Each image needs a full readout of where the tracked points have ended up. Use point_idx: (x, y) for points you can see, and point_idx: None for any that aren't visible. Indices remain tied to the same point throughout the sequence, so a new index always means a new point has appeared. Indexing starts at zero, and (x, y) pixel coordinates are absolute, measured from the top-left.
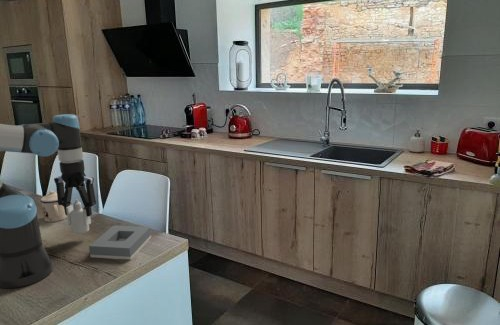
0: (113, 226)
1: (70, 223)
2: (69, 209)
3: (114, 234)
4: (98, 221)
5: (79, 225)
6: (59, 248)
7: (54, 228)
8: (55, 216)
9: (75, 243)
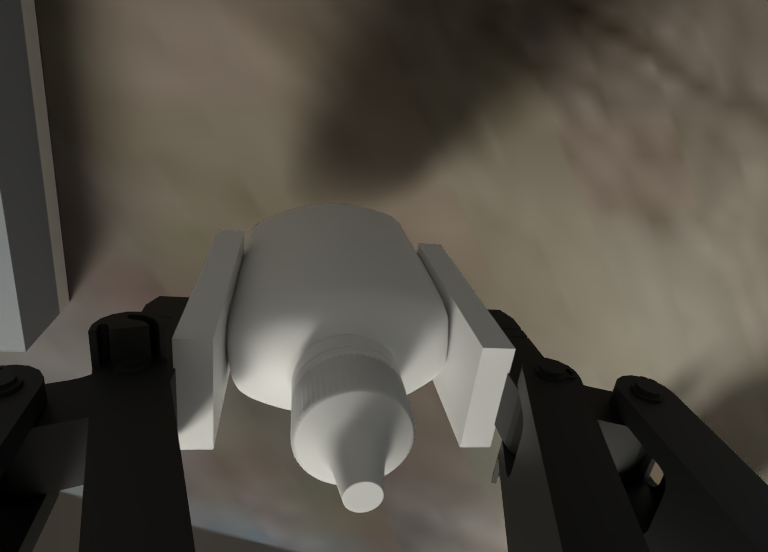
0: (12, 331)
1: (421, 253)
2: (465, 353)
3: None
4: None
5: (307, 231)
6: (436, 59)
7: (611, 379)
8: (655, 480)
9: (344, 154)
